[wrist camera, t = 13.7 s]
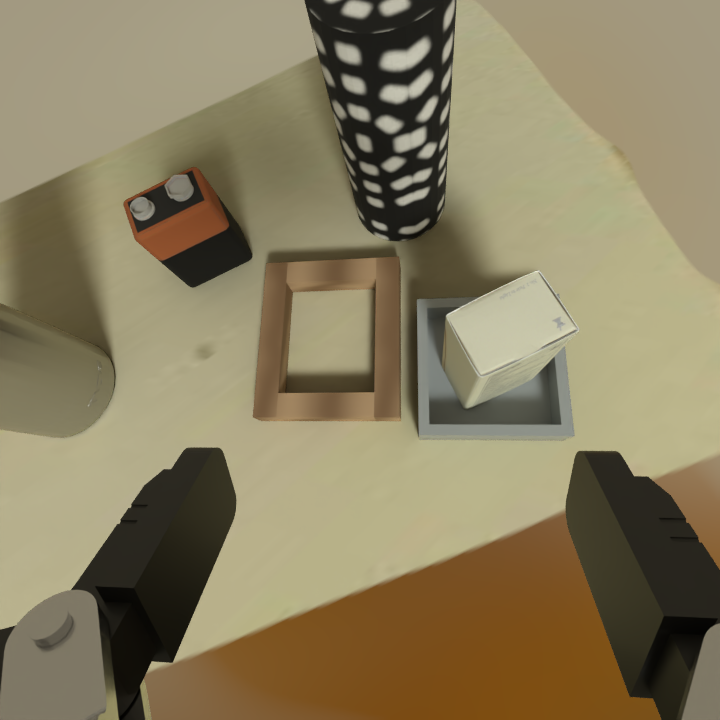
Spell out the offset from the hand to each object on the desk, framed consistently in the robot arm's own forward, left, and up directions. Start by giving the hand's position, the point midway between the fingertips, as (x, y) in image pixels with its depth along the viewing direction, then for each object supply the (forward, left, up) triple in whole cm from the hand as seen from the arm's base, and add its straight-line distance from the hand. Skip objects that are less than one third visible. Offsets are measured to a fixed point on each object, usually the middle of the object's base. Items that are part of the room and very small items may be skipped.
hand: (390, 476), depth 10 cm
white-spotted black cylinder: (-1, +26, -27) cm, 37 cm away
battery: (-19, +21, -27) cm, 39 cm away
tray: (+6, +9, -26) cm, 29 cm away
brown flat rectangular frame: (-7, +12, -26) cm, 30 cm away
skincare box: (+6, +9, -26) cm, 28 cm away
